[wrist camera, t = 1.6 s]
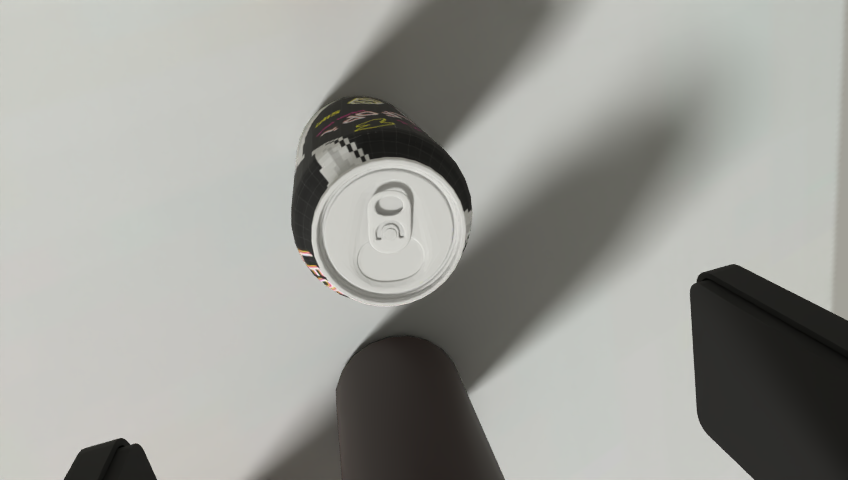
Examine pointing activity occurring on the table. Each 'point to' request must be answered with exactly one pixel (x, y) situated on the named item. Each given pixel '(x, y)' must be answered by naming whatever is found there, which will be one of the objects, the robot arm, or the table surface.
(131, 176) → the table surface
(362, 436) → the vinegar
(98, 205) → the table surface
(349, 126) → the beverage can
